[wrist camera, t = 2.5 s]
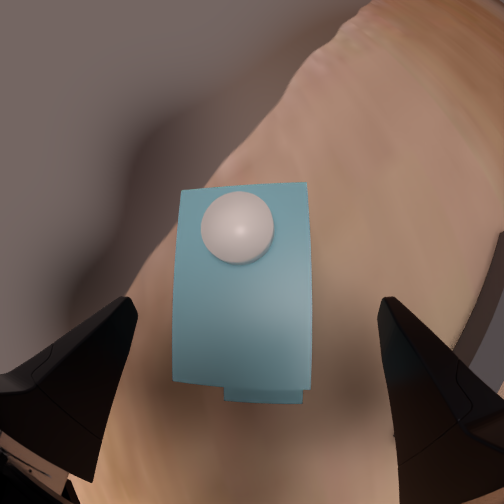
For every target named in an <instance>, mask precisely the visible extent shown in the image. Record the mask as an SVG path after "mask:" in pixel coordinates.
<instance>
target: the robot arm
mask: <svg viewBox="0 0 504 504" xmlns="http://www.w3.org/2000/svg"><path fill="white" fill-rule="evenodd" d="M137 320H138V313H137V310H136V308H135V306H134V304H133V302H132V300H131V298H130V297H123V296H121V297H119V298H117V299H116V300H114V301H113V302H111V303H110V304H108V305H107V306H105V307H104V308H102V309H101V310H99V311H98V312H97V313H95V314H94V315H92V316H91V317H89V318H88V319H86V320H85V321H84V322H82V323H81V324H79V325H78V326H76V327H75V328H74V329H72V330H71V331H69V332H68V333H66V334H65V335H64V336H62V337H61V338H59V339H58V340H57V341H55V342H54V343H53V344H51V345H50V346H48V347H47V348H45V349H44V350H43V351H41V352H40V353H38V354H37V355H36V356H34V357H32V358H31V359H29V360H28V361H26V362H24V363H23V364H21V365H20V366H18V367H16V368H15V369H14V370H12V371H10V372H8V373H6V374H0V504H80V501H79V499H78V497H77V495H76V492H75V490H74V487H73V485H72V482H71V480H69V479H67V478H68V475H69V473H70V474H73V475H75V476H77V477H79V478H81V479H83V480H85V481H88V482H90V483H92V482H93V479H94V474H95V469H96V465H97V460H98V456H99V452H100V448H101V444H102V439H103V435H104V432H105V428H106V424H107V421H108V417H109V414H110V410H111V407H112V403H113V400H114V397H115V393H116V390H117V387H118V384H119V381H120V378H121V375H122V372H123V369H124V366H125V363H126V360H127V357H128V354H129V351H130V347H131V343H132V339H133V335H134V331H135V327H136V323H137ZM377 322H378V330H379V338H380V347H381V356H382V363H383V368H384V373H385V378H386V383H387V389H388V394H389V400H390V406H391V412H392V419H393V426H394V434H395V442H396V451H397V462H398V477H399V499H400V504H504V400H503V399H502V398H501V397H500V396H499V395H498V394H497V393H496V392H494V391H493V390H492V389H491V388H490V387H489V386H488V385H487V384H485V383H484V382H483V381H482V380H481V379H480V378H479V377H478V376H477V375H476V374H475V373H474V372H473V371H472V370H471V369H470V368H468V367H467V366H466V365H465V363H464V362H463V361H462V360H461V359H459V358H458V356H457V355H456V354H455V353H454V352H453V351H452V350H451V349H450V348H449V347H448V346H447V345H446V344H445V343H444V342H442V341H441V340H440V339H439V338H438V337H437V336H436V335H435V334H434V333H433V332H432V331H431V330H430V329H429V328H428V327H427V326H426V325H425V324H424V323H423V322H422V321H421V320H419V319H418V318H417V317H416V316H415V315H414V314H413V313H412V312H411V311H410V310H409V309H408V308H406V307H405V306H404V305H403V304H402V303H401V302H400V301H399V300H398V299H396V298H395V297H384V298H383V299H382V301H381V304H380V308H379V312H378V316H377Z"/></svg>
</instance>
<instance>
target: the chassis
mask: <svg viewBox="0 0 504 504" xmlns="http://www.w3.org/2000/svg"><path fill="white" fill-rule="evenodd" d="M453 352H454V353H455V354H456V355H457V356H458V358H459V359H461V360H462V361H463V362H464V363H465V365H466V366H467V367H468V368H470V369H471V370H472V371H473V372H474V373H475V374H476V375H477V376H478V377H479V378H480V379H481V380H482V381H483V382H484V383H485V384H487V385H488V386H489V387H490V388H491V389H492V390H493V391H494V392H496V393H497V392H498V390H499V389H500V387H501V385H502V383H503V381H504V231H503V232H501V233H500V236H499V240H498V243H497V247H496V250H495V253H494V257H493V260H492V263H491V266H490V269H489V272H488V275H487V277H486V280H485V283H484V285H483V288H482V291H481V293H480V295H479V298H478V300H477V303H476V305H475V307H474V310H473V312H472V314H471V316H470V318H469V320H468V323H467V325H466V327H465V329H464V331H463V333H462V335H461V337H460V339H459V340H458V342H457V344H456V346H455V348H454V350H453ZM394 437H395V434H394Z"/></svg>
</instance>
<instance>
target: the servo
mask: <svg viewBox="0 0 504 504" xmlns="http://www.w3.org/2000/svg"><path fill="white" fill-rule="evenodd" d="M311 364H312V273H311V244H310V224H309V207H308V193H307V182H297V183H272V184H254V185H239V186H225V187H213V188H202V189H192V190H183V191H181V200H180V209H179V218H178V229H177V241H176V254H175V269H174V288H173V316H172V378H173V381H176V382H183V383H190V384H198V385H207V386H216V387H224V401H234V402H248V403H269V404H302V401H303V390H311Z"/></svg>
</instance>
